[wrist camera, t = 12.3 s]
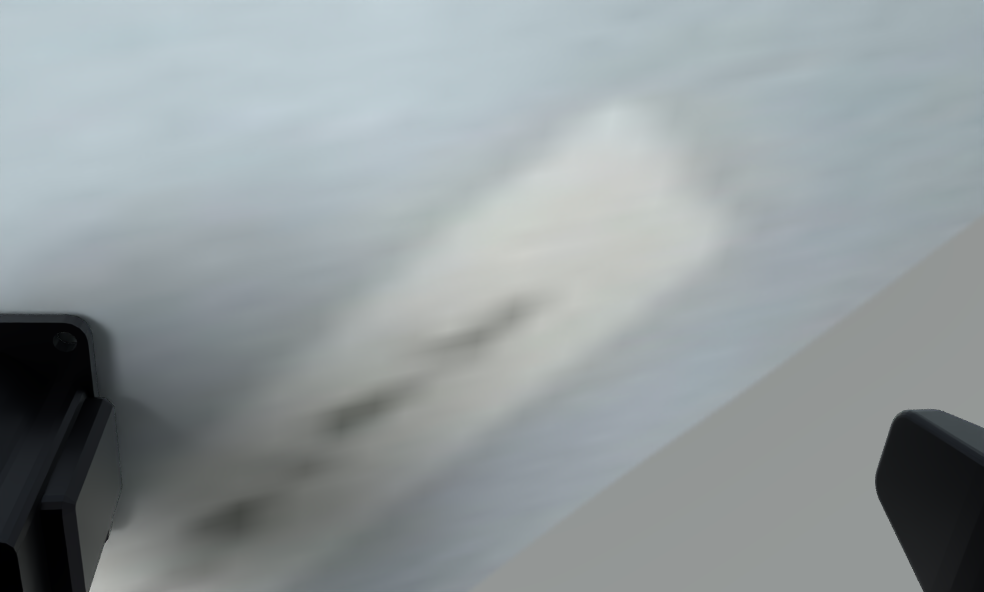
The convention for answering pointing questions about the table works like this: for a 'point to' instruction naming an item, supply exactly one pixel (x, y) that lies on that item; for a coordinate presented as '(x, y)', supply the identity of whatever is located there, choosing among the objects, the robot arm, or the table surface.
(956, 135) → the table surface
